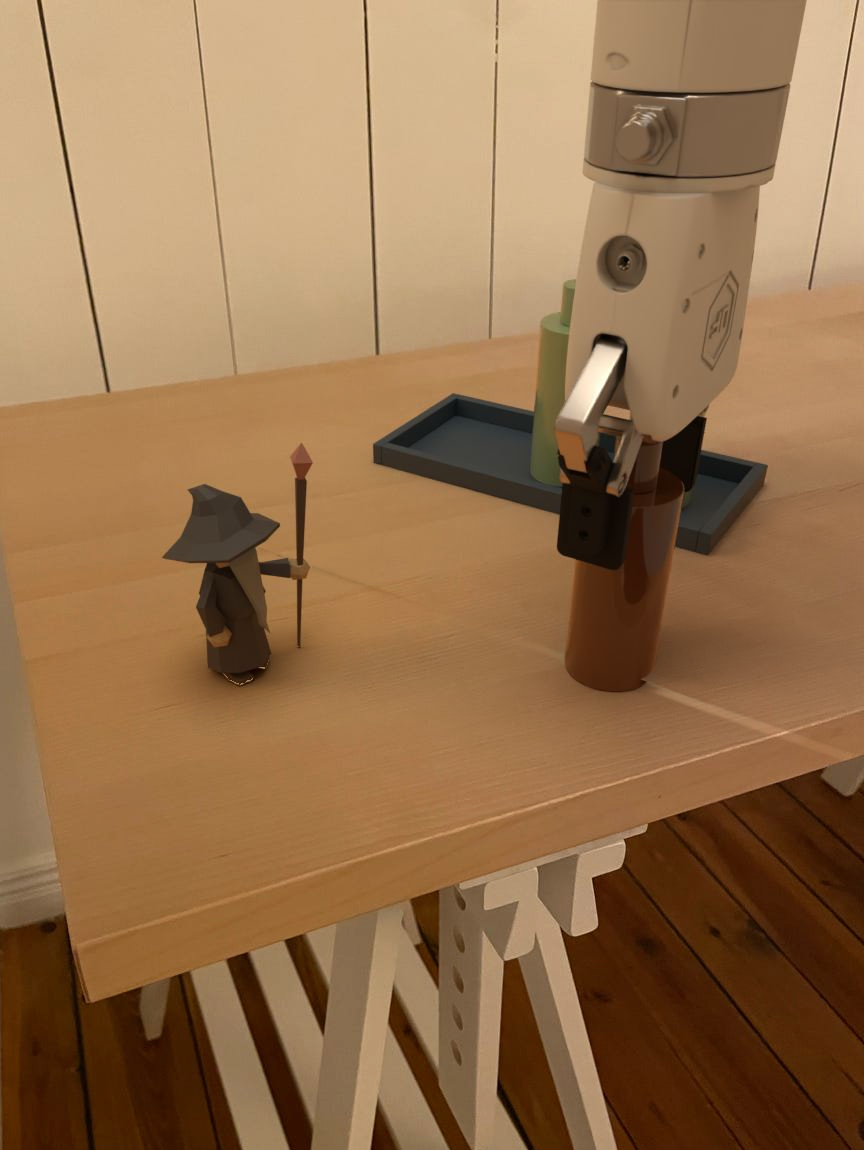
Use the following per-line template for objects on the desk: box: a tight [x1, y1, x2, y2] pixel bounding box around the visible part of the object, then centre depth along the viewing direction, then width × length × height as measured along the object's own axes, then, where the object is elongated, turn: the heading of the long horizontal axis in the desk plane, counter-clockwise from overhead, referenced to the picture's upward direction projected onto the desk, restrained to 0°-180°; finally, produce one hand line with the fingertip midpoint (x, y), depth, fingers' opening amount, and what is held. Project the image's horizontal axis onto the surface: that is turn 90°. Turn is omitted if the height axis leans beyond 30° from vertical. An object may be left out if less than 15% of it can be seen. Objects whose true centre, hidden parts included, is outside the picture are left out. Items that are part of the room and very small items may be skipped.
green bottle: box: [530, 278, 601, 487], centre depth 69 cm, size 5×5×14 cm
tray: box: [372, 392, 769, 556], centre depth 73 cm, size 26×12×2 cm, turn 56°
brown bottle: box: [564, 434, 684, 692], centre depth 51 cm, size 5×5×14 cm
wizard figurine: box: [161, 442, 314, 685], centre depth 53 cm, size 8×6×12 cm
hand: (628, 519), depth 50 cm, fingers open, 8 cm apart
